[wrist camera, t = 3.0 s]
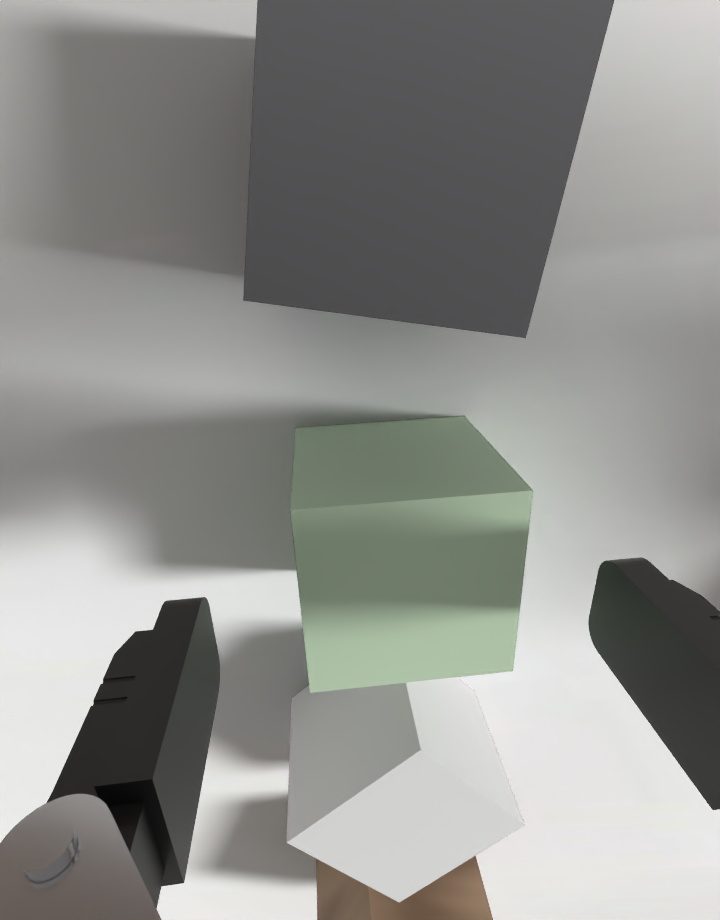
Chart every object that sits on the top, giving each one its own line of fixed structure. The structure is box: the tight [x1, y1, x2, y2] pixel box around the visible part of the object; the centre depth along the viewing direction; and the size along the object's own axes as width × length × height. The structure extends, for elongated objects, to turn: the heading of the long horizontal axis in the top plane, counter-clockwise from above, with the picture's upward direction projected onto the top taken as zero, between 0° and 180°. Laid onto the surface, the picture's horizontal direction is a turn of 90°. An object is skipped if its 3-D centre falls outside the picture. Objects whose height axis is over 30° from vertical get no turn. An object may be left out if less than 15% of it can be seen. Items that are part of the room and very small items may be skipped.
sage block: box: [290, 416, 533, 693], centre depth 13 cm, size 5×5×5 cm
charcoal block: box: [243, 0, 614, 338], centre depth 10 cm, size 5×5×5 cm
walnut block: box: [316, 856, 493, 920], centre depth 20 cm, size 5×5×5 cm
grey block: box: [287, 677, 525, 902], centre depth 17 cm, size 5×5×5 cm
